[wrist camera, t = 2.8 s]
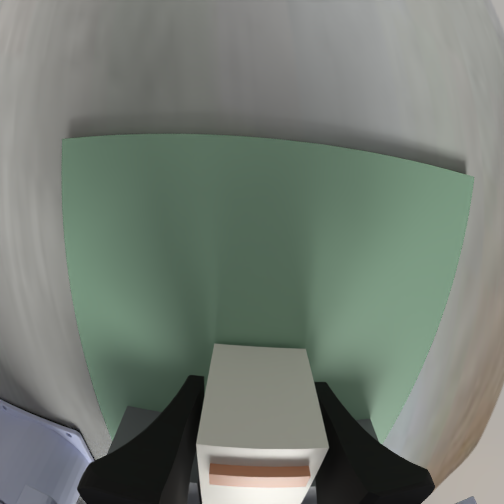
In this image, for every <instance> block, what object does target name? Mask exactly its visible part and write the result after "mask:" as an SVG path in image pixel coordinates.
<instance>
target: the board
mask: <svg viewBox="0 0 504 504" xmlns="http://www.w3.org/2000/svg"><path fill="white" fill-rule="evenodd" d="M473 183H474V177H473V176H469V175H466V174H462V173H459V172H455V171H452V170H448V169H444V168H440V167H436V166H432V165H428V164H424V163H420V162H416V161H411V160H407V159H402V158H397V157H393V156H388V155H383V154H378V153H372V152H367V151H361V150H355V149H349V148H343V147H337V146H330V145H323V144H316V143H308V142H300V141H291V140H281V139H271V138H260V137H246V136H231V135H210V134H126V135H106V136H91V137H78V138H68V139H62V211H63V227H64V239H65V249H66V258H67V267H68V274H69V281H70V288H71V294H72V300H73V305H74V311H75V316H76V321H77V325H78V330H79V335H80V339H81V343H82V347H83V351H84V355H85V359H86V363H87V367H88V370H89V374H90V377H91V381H92V384H93V387H94V391H95V394H96V397H97V400H98V403H99V406H100V409H101V412H102V415H103V417H104V420H105V423H106V426H107V428H108V431H109V434H110V436H111V439H112V441H113V439H114V436H115V434H116V432H117V429H118V427H119V424H120V422H121V420H122V417H123V415H124V413H125V410H126V408H127V406H132V407H137V408H142V409H147V410H152V411H158V412H162V411H163V410H164V409H165V408H166V407H167V406H168V404H169V403H170V402H171V401H172V399H173V398H174V397H175V396H176V394H177V393H178V391H179V390H180V388H181V387H182V385H183V384H184V382H185V381H186V379H187V377H188V376H189V375H197V376H204V396H205V391H206V385H207V380H208V374H209V369H210V364H211V358H212V353H213V348H214V343H215V344H227V345H239V346H254V347H272V348H296V349H306V352H307V356H308V360H309V364H310V368H311V372H312V376H313V380H314V382H326V383H327V384H328V386H329V387H330V388H331V390H332V391H333V393H334V394H335V395H336V397H337V398H338V399H339V401H340V402H341V403H342V405H343V406H344V407H345V408H346V409H347V411H348V412H349V413H350V414H351V416H352V417H353V418H354V419H355V420H361V419H371V422H372V425H373V427H374V430H375V433H376V435H377V438H378V441H379V443H381V444H383V442H384V440H385V439H386V437H387V435H388V434H389V432H390V430H391V428H392V427H393V425H394V423H395V421H396V419H397V417H398V416H399V414H400V412H401V410H402V408H403V406H404V404H405V402H406V400H407V398H408V396H409V394H410V392H411V390H412V388H413V386H414V384H415V382H416V380H417V377H418V375H419V373H420V371H421V369H422V366H423V364H424V362H425V359H426V357H427V355H428V352H429V350H430V347H431V345H432V342H433V340H434V337H435V334H436V332H437V329H438V326H439V323H440V321H441V318H442V315H443V312H444V309H445V306H446V303H447V300H448V297H449V293H450V290H451V287H452V283H453V280H454V276H455V273H456V269H457V265H458V261H459V257H460V253H461V249H462V245H463V240H464V236H465V231H466V226H467V221H468V216H469V210H470V204H471V198H472V191H473Z"/></svg>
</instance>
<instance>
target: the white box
mask: <svg viewBox="0 0 504 504" xmlns="http://www.w3.org/2000/svg"><path fill="white" fill-rule="evenodd" d="M196 448H197V459H198V469H199V479H200V488H201V497H202V504H301V503H302V501H303V499H304V497H305V495H306V493H307V492H308V490H309V488H310V486H311V484H312V482H313V480H314V478H315V476H316V474H317V472H318V470H319V468H320V466H321V464H322V462H323V460H324V457H325V455H326V453H327V451H328V449H329V445H328V441H327V436H326V432H325V427H324V423H323V419H322V414H321V410H320V406H319V401H318V397H317V393H316V389H315V384H314V380H313V376H312V372H311V368H310V364H309V360H308V356H307V352H306V349H296V348H272V347H254V346H239V345H227V344H215V343H214V348H213V353H212V358H211V364H210V369H209V374H208V380H207V385H206V391H205V396H204V402H203V408H202V413H201V419H200V425H199V430H198V436H197V442H196Z"/></svg>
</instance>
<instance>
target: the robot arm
mask: <svg viewBox="0 0 504 504" xmlns="http://www.w3.org/2000/svg"><path fill="white" fill-rule="evenodd" d="M314 384H315V389H316V393H317V397H318V401H319V406H320V410H321V414H322V419H323V423H324V427H325V432H326V436H327V441H328V445H329V449H328V451H327V453H326V455H325V457H324V460H323V462H322V464H321V466H320V468H319V470H318V472H317V474H316V476H315V482H316V495H317V504H421V503H422V502H423V501H424V500H425V499H426V498H427V497H428V496H429V495H430V494H431V493H432V492H433V490H434V488H435V485H434V483H433V480H432V478H431V475H430V473H429V472H428V470H427V469H425V468H422V467H420V466H418V465H416V464H413V463H411V462H409V461H407V460H405V459H404V458H402V457H400V456H398V455H397V454H395V453H394V452H392V451H391V450H389V449H388V448H386V447H385V446H383V445H382V444H381V443H379V442H378V441H377V440H376V439H375V438H373V437H372V436H371V435H370V434H369V433H368V432H367V431H366V430H365V429H364V428H363V427H362V426H361V425H360V424H359V423H358V422H357V421H356V420H355V419H354V418H353V417H352V416H351V414H350V413H349V412H348V411H347V409H346V408H345V407H344V406H343V405H342V403H341V402H340V401H339V399H338V398H337V397H336V395H335V394H334V393H333V391H332V390H331V388H330V387H329V386H328V384H327V383H326V382H314ZM203 402H204V376H197V375H189V376H188V377H187V379H186V381H185V382H184V384H183V385H182V387H181V388H180V390H179V391H178V393H177V394H176V396H175V397H174V398H173V399H172V401H171V402H170V403H169V404H168V406H167V407H166V408H165V409H164V410H163V411H162V412H161V414H160V415H159V416H158V417H157V418H156V419H155V420H154V421H153V422H152V423H151V424H150V425H149V426H148V427H147V428H145V429H144V430H143V431H142V432H141V433H140V434H138V435H137V436H136V437H134V438H133V439H132V440H130V441H129V442H128V443H126V444H125V445H123V446H121V447H120V448H118V449H117V450H115V451H113V452H112V453H110V454H108V455H106V456H104V457H102V458H100V459H97V460H95V461H94V459H93V458H92V456H91V454H90V452H89V450H88V448H87V446H86V444H85V442H84V440H83V438H82V436H81V434H80V433H79V432H77V431H76V430H73V429H70V428H67V427H64V426H62V425H59V424H56V423H53V422H51V421H48V420H46V419H43V418H41V417H38V416H36V415H33V414H31V413H29V412H26V411H24V410H22V409H20V408H17V407H15V406H13V405H11V404H9V403H7V402H5V401H3V400H1V399H0V504H76V503H77V500H78V498H79V495H80V496H81V497H82V498H83V500H84V501H85V502H86V503H87V504H187V500H188V492H189V484H190V476H191V470H192V465H193V461H194V457H195V453H196V449H197V448H196V442H197V436H198V430H199V425H200V419H201V413H202V408H203ZM456 504H477V503H476V501H475V499H474V497H473V496H472V497H469V498H467V499H465V500H463V501H460V502H458V503H456Z"/></svg>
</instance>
